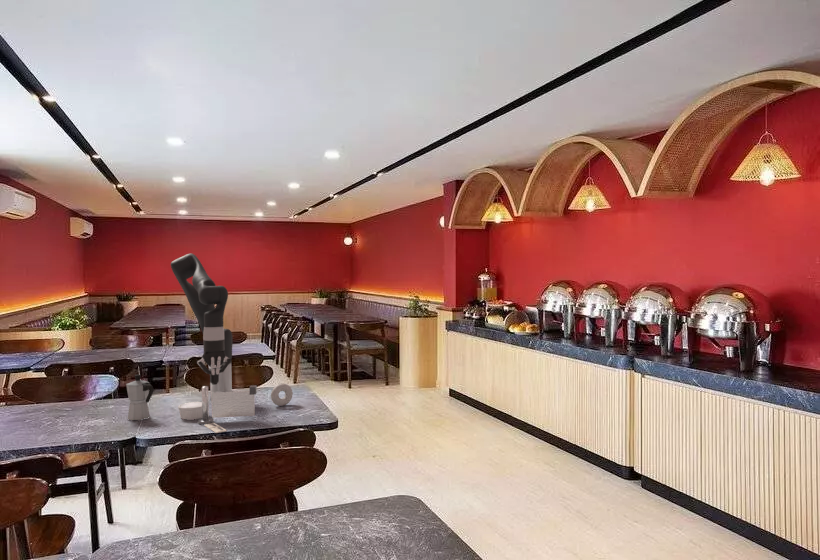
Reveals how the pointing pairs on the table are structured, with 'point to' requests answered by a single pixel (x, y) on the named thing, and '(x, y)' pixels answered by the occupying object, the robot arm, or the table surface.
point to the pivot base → (205, 421)
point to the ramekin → (191, 410)
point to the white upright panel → (229, 403)
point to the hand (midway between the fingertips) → (214, 384)
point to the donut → (277, 390)
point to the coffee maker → (139, 398)
